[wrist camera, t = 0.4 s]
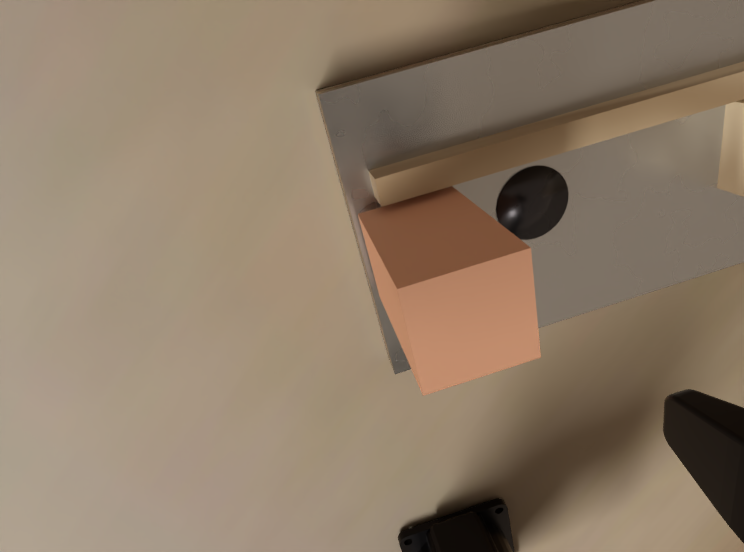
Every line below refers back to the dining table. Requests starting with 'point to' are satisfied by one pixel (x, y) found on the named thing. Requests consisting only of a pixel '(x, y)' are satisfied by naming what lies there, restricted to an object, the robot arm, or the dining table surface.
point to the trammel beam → (579, 137)
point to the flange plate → (569, 169)
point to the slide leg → (452, 287)
